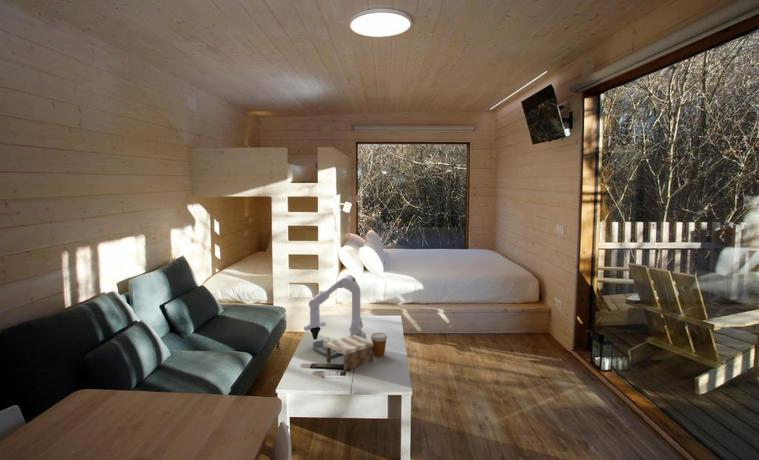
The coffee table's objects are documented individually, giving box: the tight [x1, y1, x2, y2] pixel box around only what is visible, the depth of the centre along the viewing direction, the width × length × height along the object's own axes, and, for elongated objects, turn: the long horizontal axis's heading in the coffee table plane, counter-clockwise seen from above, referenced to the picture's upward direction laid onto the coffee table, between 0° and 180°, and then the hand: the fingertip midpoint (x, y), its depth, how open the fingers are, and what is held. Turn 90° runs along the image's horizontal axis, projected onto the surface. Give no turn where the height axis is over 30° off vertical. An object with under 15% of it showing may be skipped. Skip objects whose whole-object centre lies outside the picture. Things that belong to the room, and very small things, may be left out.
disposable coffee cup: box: [370, 332, 388, 358], centre depth 259 cm, size 10×10×12 cm
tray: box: [312, 337, 344, 359], centre depth 265 cm, size 11×18×6 cm, turn 42°
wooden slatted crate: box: [326, 334, 374, 371], centre depth 250 cm, size 20×16×11 cm
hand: (315, 339), depth 276 cm, fingers closed
